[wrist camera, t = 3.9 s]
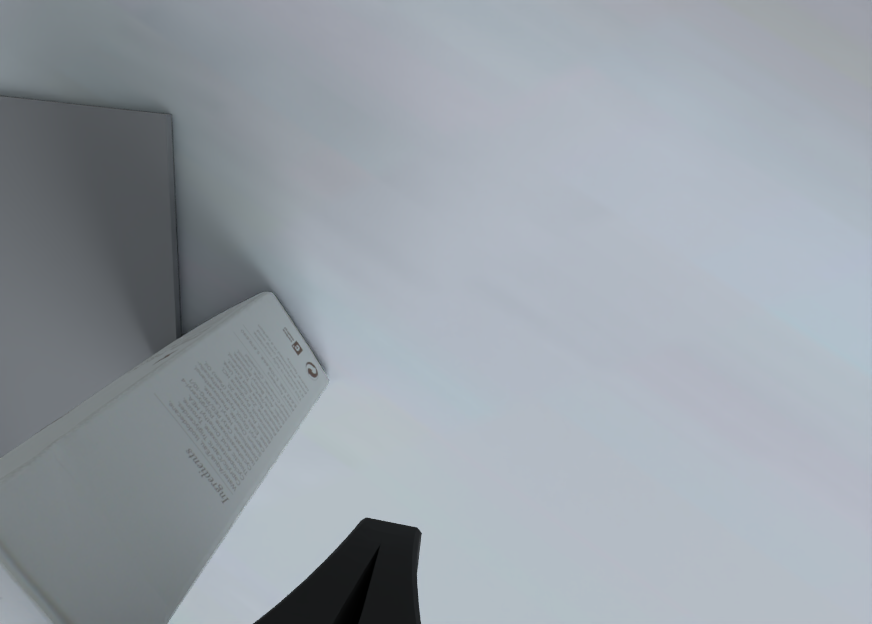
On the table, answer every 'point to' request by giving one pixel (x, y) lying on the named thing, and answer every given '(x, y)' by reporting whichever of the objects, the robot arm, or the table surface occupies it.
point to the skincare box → (151, 472)
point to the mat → (81, 254)
